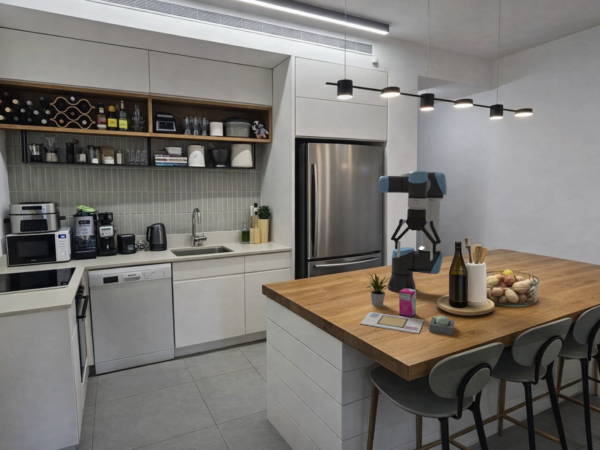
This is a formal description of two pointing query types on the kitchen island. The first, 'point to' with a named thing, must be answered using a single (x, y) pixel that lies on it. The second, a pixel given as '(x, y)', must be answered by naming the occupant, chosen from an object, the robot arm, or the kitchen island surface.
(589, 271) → the kitchen island surface
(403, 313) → the supplement box
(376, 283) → the house plant
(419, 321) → the picture sheet
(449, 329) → the soap dish
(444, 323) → the button
